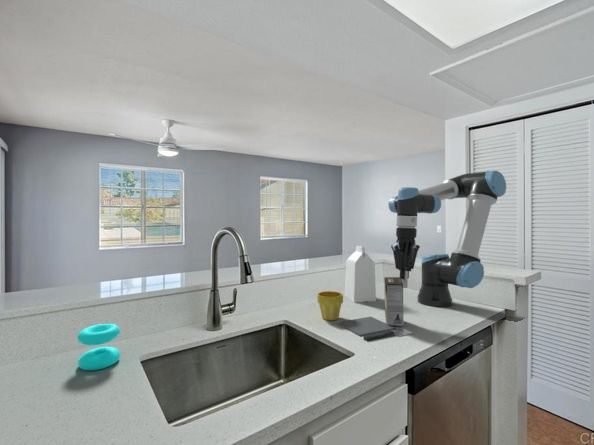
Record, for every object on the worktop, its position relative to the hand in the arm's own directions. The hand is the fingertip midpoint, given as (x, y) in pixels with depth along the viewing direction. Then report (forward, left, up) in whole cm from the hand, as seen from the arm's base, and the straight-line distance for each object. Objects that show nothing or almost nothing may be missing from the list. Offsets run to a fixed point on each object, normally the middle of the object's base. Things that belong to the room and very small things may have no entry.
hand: (403, 287), depth 124 cm
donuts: (+103, -10, -14) cm, 105 cm away
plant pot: (+24, -16, -14) cm, 32 cm away
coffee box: (+5, 0, -13) cm, 14 cm away
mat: (+17, -2, -13) cm, 22 cm away
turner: (+15, +9, -13) cm, 22 cm away
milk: (-5, -35, -14) cm, 37 cm away
